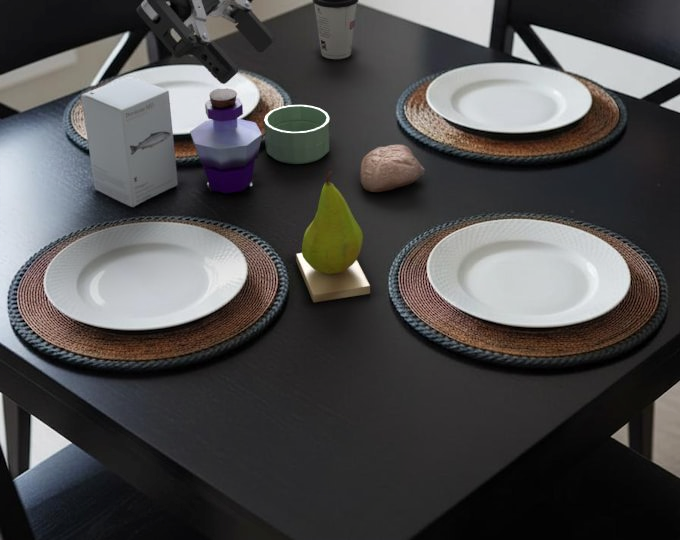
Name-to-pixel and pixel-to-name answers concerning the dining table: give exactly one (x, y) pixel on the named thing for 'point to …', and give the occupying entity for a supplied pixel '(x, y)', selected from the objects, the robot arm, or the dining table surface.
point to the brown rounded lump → (389, 168)
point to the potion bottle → (227, 144)
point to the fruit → (332, 234)
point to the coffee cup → (335, 26)
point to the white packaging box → (130, 140)
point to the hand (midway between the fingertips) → (250, 61)
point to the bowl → (297, 134)
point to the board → (333, 282)
